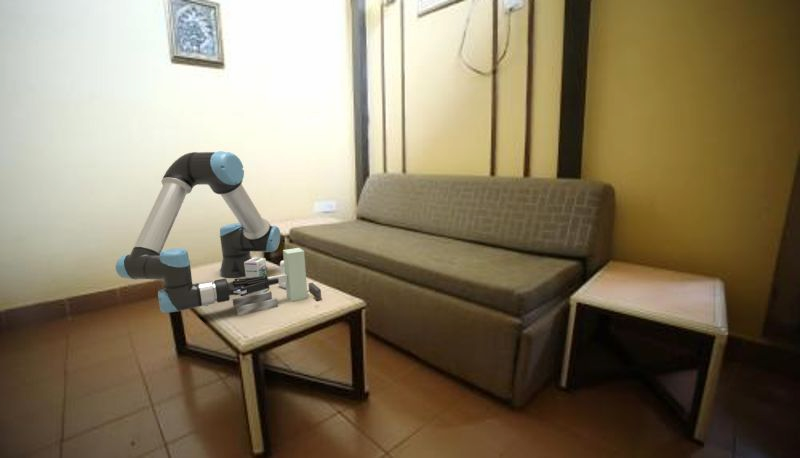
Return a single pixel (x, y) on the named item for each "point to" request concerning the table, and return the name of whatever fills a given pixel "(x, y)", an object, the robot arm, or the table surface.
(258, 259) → the syrup box
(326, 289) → the table surface
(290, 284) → the block
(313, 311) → the table surface
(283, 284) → the figurine
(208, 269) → the table surface
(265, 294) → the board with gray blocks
